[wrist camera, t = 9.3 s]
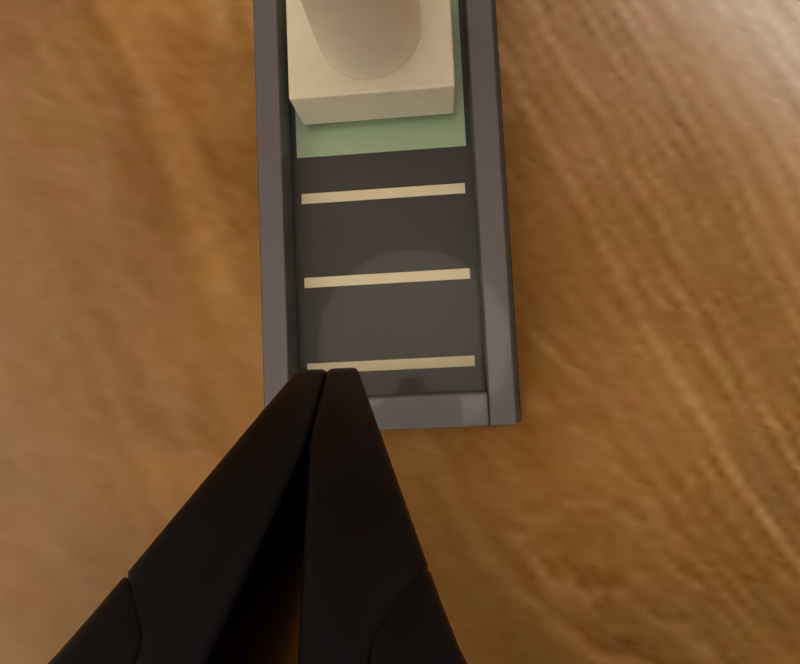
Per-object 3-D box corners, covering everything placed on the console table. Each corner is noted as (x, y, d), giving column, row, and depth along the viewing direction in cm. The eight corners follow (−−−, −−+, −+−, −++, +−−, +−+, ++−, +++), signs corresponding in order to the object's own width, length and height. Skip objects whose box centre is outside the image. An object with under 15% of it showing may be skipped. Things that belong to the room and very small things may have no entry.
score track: (519, 420, 17) (526, 424, 16) (272, 430, 18) (255, 435, 16) (490, -59, 19) (493, -100, 17) (259, -36, 19) (242, -74, 17)
